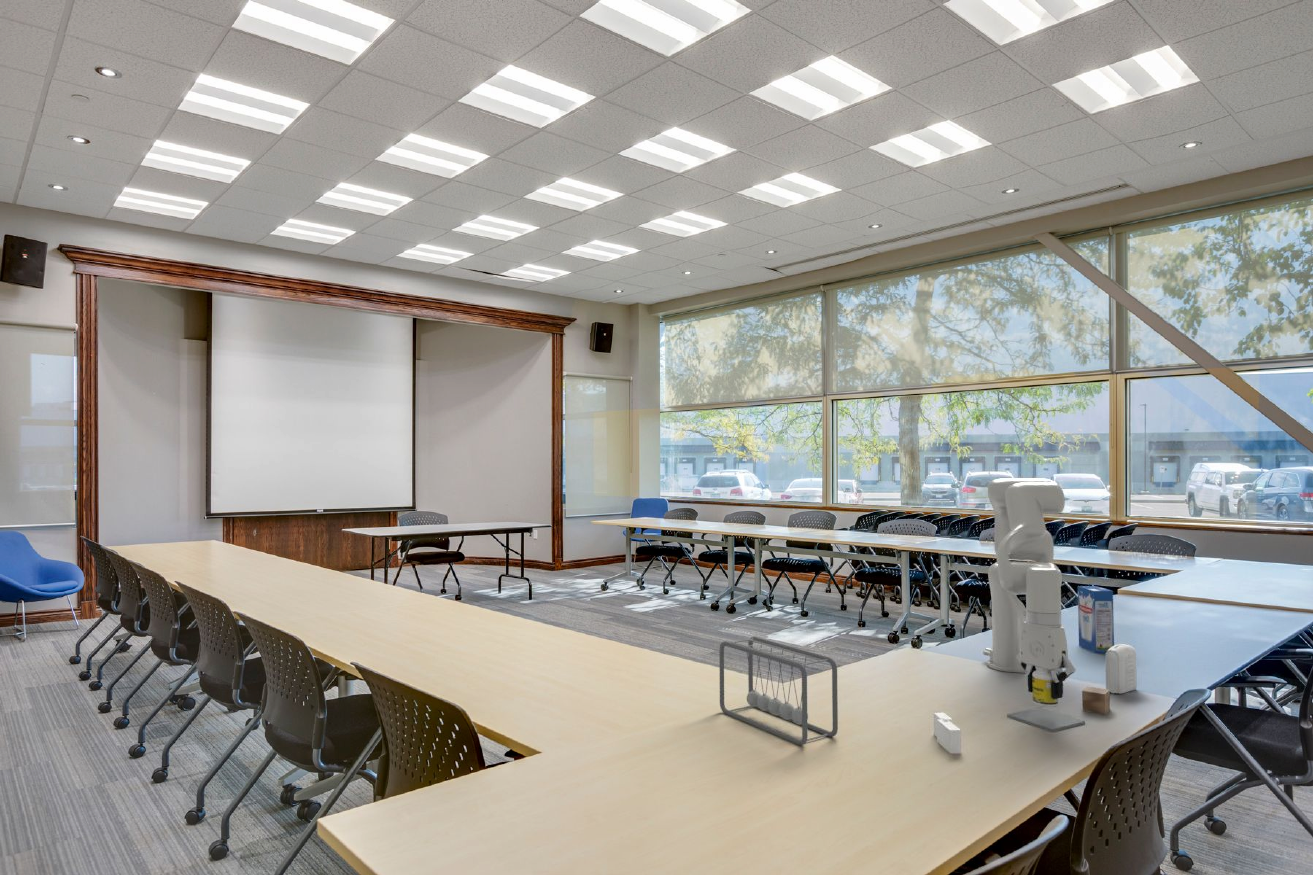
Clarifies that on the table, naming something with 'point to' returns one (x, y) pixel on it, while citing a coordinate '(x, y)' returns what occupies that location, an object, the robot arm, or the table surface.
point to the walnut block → (1096, 700)
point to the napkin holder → (947, 733)
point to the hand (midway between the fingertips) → (1045, 693)
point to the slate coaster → (1046, 719)
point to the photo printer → (1121, 669)
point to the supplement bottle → (1043, 688)
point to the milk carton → (1095, 618)
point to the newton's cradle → (775, 704)
